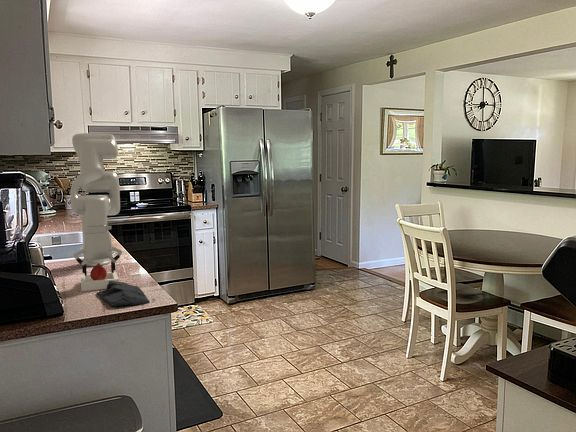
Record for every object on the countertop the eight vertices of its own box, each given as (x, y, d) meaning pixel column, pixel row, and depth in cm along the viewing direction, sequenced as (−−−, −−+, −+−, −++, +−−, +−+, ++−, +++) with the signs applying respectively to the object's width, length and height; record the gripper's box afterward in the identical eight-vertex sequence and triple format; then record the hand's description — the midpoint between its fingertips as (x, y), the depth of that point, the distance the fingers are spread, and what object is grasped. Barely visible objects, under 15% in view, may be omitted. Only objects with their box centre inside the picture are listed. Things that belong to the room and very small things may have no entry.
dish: (81, 282, 182) (80, 274, 182) (116, 279, 187) (115, 271, 187) (81, 291, 170) (81, 282, 170) (119, 287, 176) (118, 279, 175)
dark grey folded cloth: (104, 312, 149) (104, 297, 149) (95, 294, 168) (95, 281, 168) (153, 304, 157) (152, 291, 156) (139, 288, 176) (138, 276, 175)
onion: (87, 285, 176) (86, 264, 175) (96, 281, 182) (95, 261, 181) (102, 285, 175) (101, 264, 175) (109, 281, 181) (109, 261, 180)
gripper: (120, 226, 183) (122, 269, 185) (72, 229, 176) (74, 273, 178) (122, 229, 176) (123, 273, 178) (71, 232, 169) (74, 278, 171)
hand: (99, 273), depth 178 cm, fingers open, 9 cm apart
